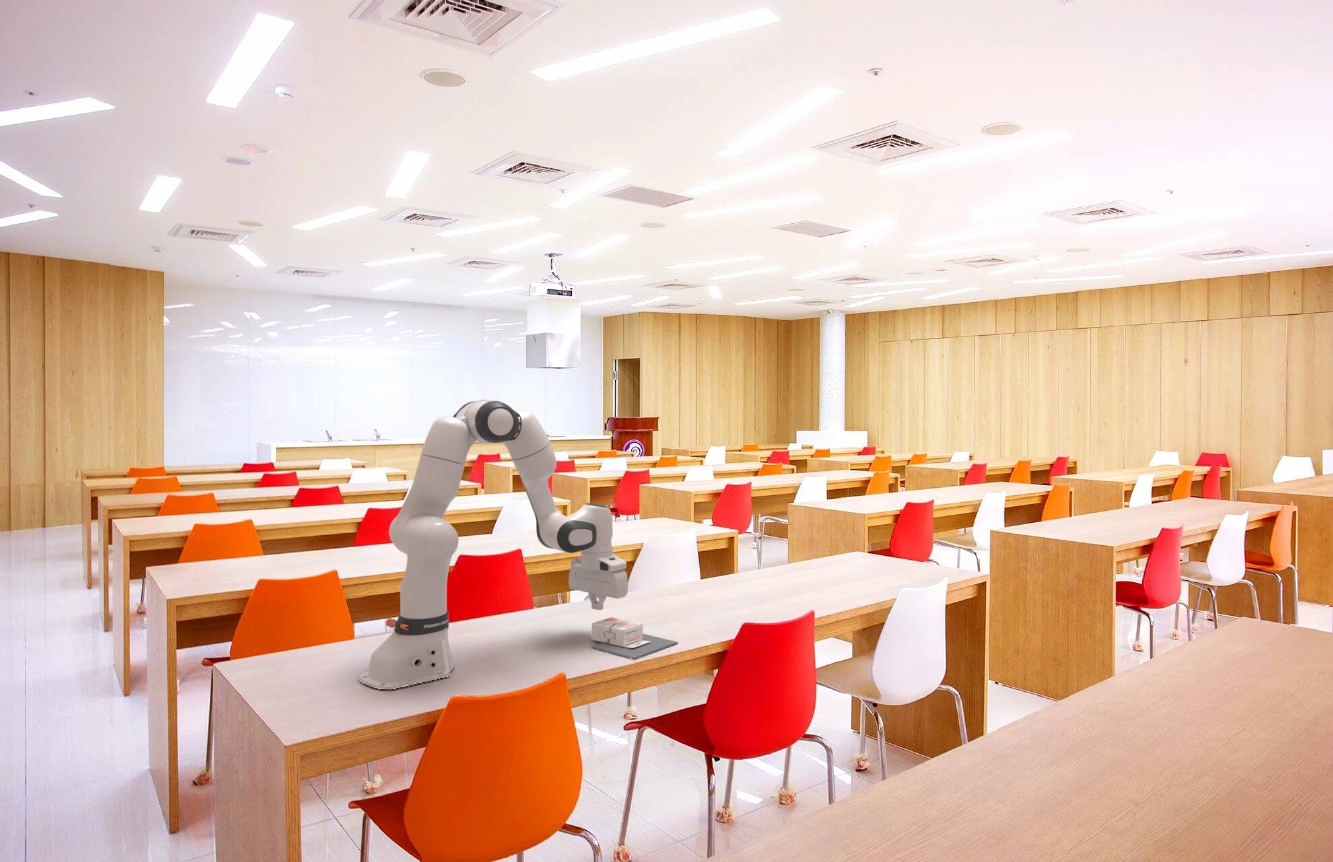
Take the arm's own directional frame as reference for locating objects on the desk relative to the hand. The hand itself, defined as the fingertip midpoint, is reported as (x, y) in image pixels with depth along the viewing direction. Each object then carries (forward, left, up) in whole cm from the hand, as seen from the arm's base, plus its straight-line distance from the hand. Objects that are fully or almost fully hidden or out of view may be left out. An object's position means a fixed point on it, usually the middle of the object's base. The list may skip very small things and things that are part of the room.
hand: (597, 609), depth 229 cm
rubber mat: (+1, -13, -8) cm, 15 cm away
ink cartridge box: (0, -1, -5) cm, 5 cm away
